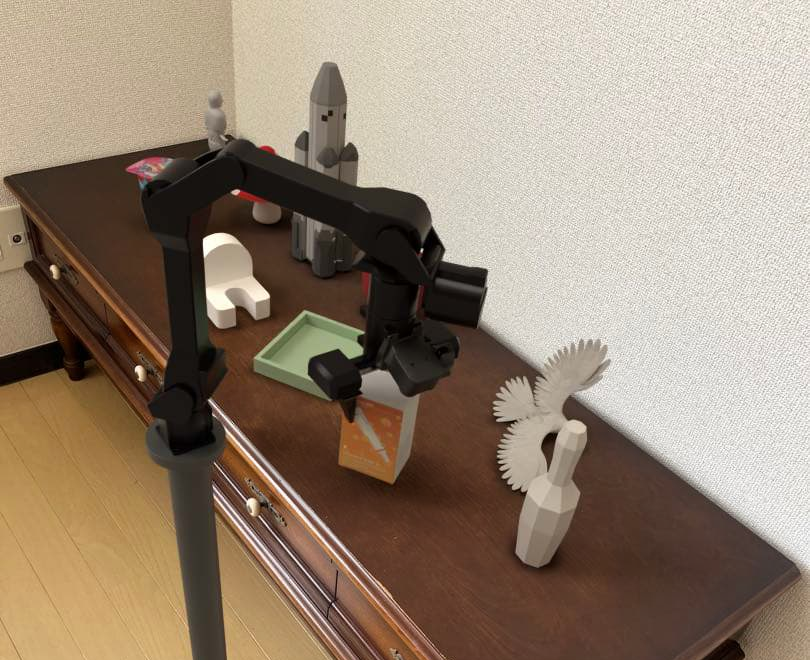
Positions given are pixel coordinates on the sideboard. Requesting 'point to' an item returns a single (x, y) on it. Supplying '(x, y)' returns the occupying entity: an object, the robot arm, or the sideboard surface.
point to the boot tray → (305, 350)
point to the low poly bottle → (551, 499)
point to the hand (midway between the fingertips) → (379, 410)
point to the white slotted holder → (231, 281)
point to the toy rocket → (325, 172)
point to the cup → (148, 169)
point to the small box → (379, 428)
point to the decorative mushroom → (262, 202)
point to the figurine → (215, 120)
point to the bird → (543, 408)
